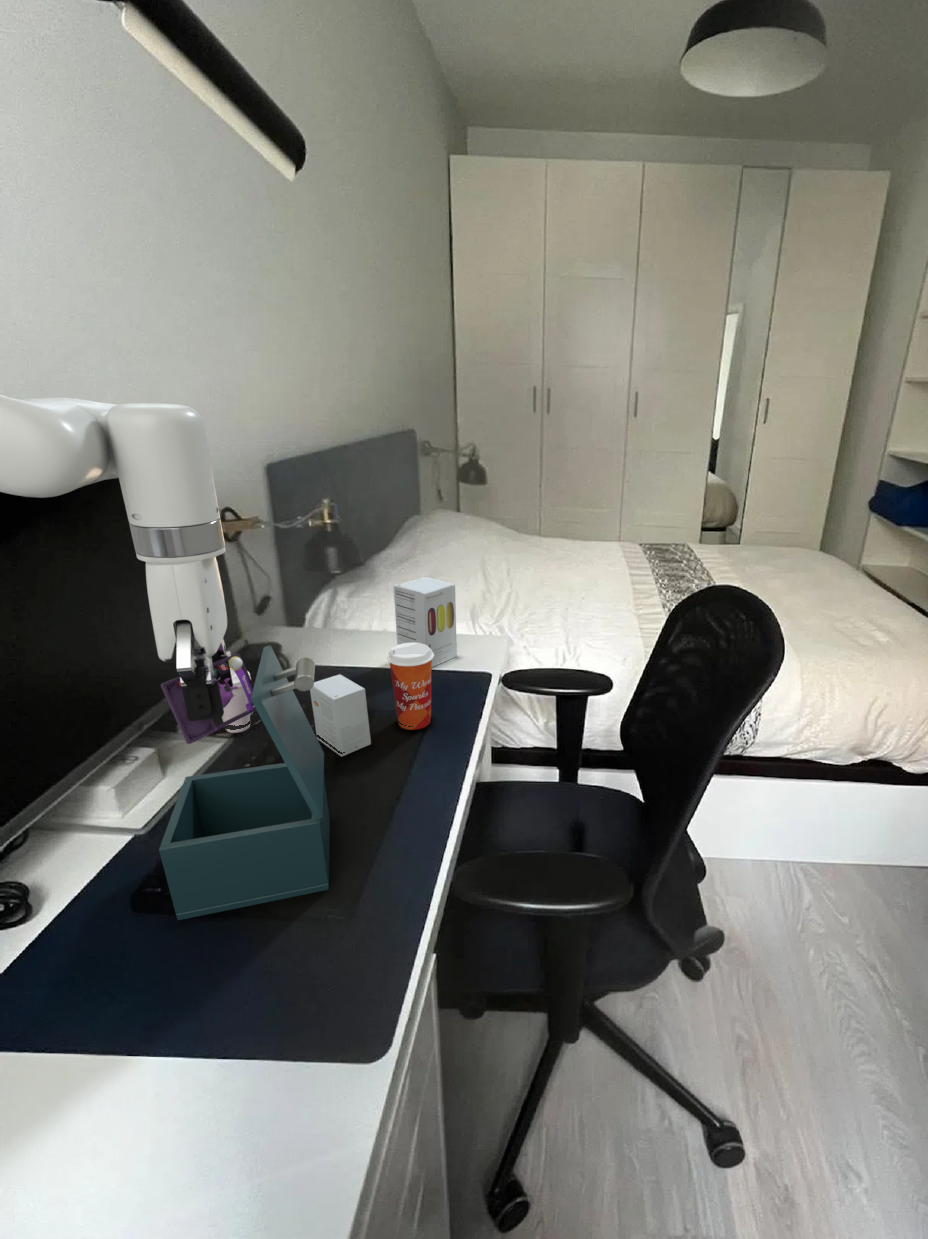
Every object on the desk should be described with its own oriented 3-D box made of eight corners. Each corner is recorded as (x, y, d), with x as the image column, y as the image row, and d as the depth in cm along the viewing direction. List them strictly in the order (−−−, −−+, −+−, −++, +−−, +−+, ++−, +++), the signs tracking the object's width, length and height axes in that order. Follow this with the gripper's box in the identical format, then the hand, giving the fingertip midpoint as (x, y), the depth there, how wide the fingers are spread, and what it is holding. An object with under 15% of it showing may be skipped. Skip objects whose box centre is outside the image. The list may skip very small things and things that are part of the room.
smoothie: (261, 730, 107) (249, 655, 102) (219, 740, 104) (204, 663, 99) (255, 714, 112) (242, 642, 107) (214, 723, 109) (199, 649, 104)
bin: (177, 921, 70) (158, 849, 66) (200, 840, 82) (185, 776, 78) (329, 890, 75) (319, 822, 71) (329, 818, 87) (321, 757, 83)
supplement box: (427, 670, 132) (423, 594, 126) (396, 659, 137) (391, 585, 130) (458, 656, 140) (456, 583, 133) (428, 646, 144) (424, 575, 138)
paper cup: (396, 736, 107) (390, 661, 102) (389, 715, 114) (383, 644, 109) (441, 728, 110) (438, 655, 105) (432, 708, 117) (428, 638, 112)
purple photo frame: (166, 683, 62) (243, 651, 70) (137, 688, 65) (215, 657, 72) (193, 744, 64) (266, 706, 71) (164, 746, 66) (237, 710, 74)
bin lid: (250, 698, 63) (303, 680, 64) (263, 647, 75) (308, 632, 76) (315, 820, 71) (362, 802, 72) (318, 755, 83) (358, 741, 84)
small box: (371, 745, 104) (366, 688, 100) (340, 758, 101) (333, 699, 97) (346, 727, 109) (340, 673, 105) (316, 739, 105) (308, 683, 101)
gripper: (157, 521, 67) (189, 674, 74) (105, 564, 52) (151, 750, 59) (235, 520, 70) (259, 667, 77) (207, 559, 55) (240, 739, 62)
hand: (212, 702), depth 68 cm, fingers closed on purple photo frame, 5 cm apart
